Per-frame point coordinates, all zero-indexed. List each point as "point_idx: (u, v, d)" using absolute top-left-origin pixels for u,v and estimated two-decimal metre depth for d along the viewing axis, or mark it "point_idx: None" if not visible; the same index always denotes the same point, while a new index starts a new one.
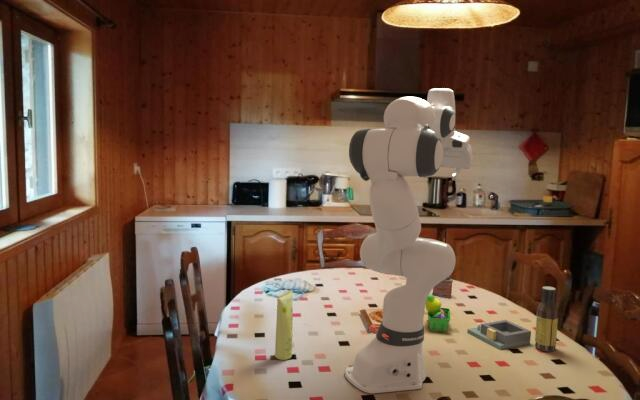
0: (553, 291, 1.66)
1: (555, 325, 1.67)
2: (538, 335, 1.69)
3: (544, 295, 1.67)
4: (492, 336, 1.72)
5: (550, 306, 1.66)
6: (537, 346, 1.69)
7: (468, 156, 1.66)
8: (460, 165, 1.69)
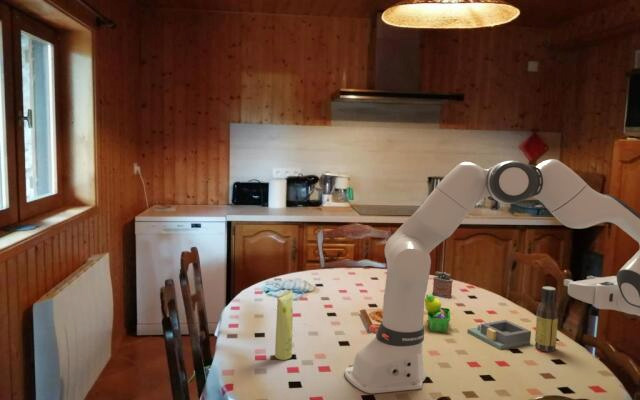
0: (553, 291, 1.66)
1: (555, 325, 1.67)
2: (538, 335, 1.69)
3: (544, 295, 1.67)
4: (492, 336, 1.72)
5: (550, 306, 1.66)
6: (537, 346, 1.69)
7: (583, 284, 1.42)
8: (578, 281, 1.46)
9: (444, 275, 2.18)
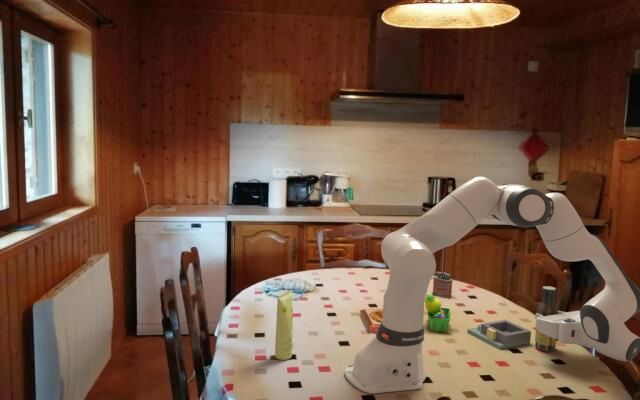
0: (553, 291, 1.66)
1: None
2: (538, 335, 1.69)
3: (544, 295, 1.67)
4: (492, 336, 1.72)
5: (551, 306, 1.66)
6: (537, 346, 1.69)
7: (549, 320, 1.57)
8: (545, 317, 1.61)
9: (444, 275, 2.18)
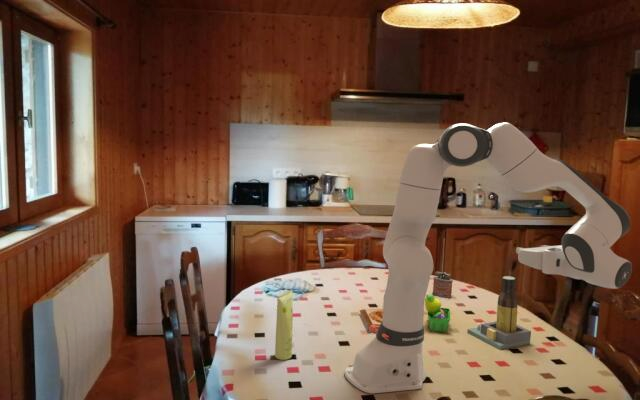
0: (512, 281, 1.72)
1: (514, 313, 1.72)
2: (498, 323, 1.74)
3: (504, 284, 1.73)
4: (492, 336, 1.72)
5: (510, 295, 1.72)
6: None
7: (532, 250, 1.44)
8: (529, 248, 1.49)
9: (444, 275, 2.18)
